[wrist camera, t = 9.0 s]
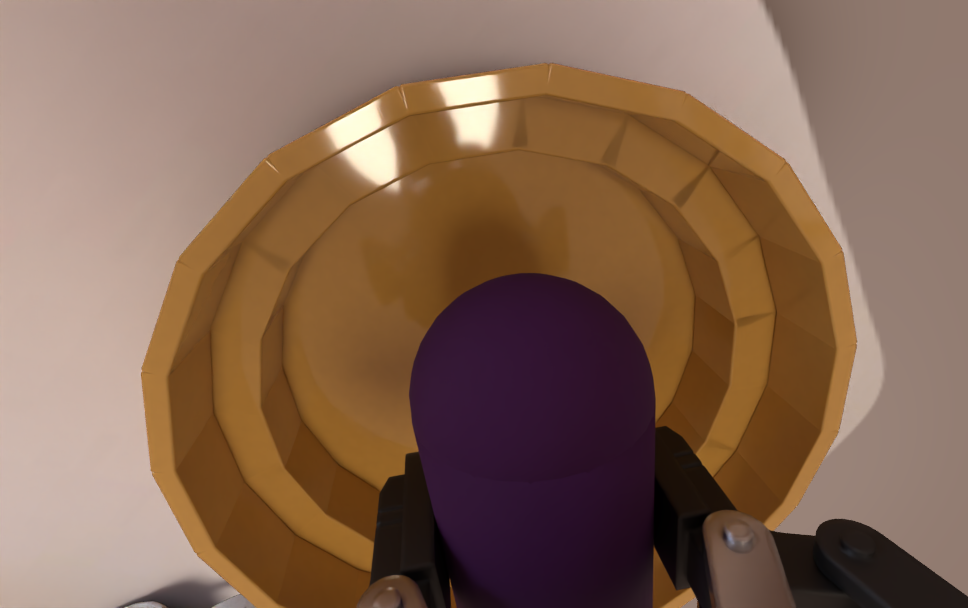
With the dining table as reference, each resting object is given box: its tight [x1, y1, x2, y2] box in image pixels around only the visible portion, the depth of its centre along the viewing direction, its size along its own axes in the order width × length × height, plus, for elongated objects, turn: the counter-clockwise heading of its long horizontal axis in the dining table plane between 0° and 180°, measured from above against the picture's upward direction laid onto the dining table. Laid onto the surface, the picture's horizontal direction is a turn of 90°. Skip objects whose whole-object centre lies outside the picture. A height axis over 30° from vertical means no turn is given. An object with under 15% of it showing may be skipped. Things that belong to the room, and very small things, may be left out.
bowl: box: [141, 63, 857, 608], centre depth 16 cm, size 19×19×6 cm
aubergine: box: [409, 273, 656, 608], centre depth 12 cm, size 12×5×5 cm, turn 8°
